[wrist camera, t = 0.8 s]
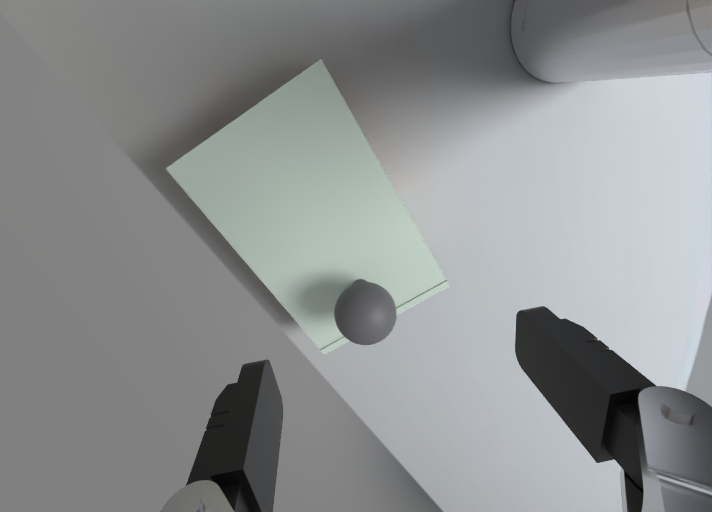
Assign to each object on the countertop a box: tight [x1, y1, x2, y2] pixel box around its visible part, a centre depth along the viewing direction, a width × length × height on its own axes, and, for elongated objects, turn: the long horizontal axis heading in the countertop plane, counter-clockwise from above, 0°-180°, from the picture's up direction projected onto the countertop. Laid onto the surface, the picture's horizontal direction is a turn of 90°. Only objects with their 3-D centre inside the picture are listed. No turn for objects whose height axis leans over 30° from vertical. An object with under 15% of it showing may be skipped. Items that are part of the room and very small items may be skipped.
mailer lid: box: [165, 59, 450, 355], centre depth 24 cm, size 19×12×9 cm, turn 31°
